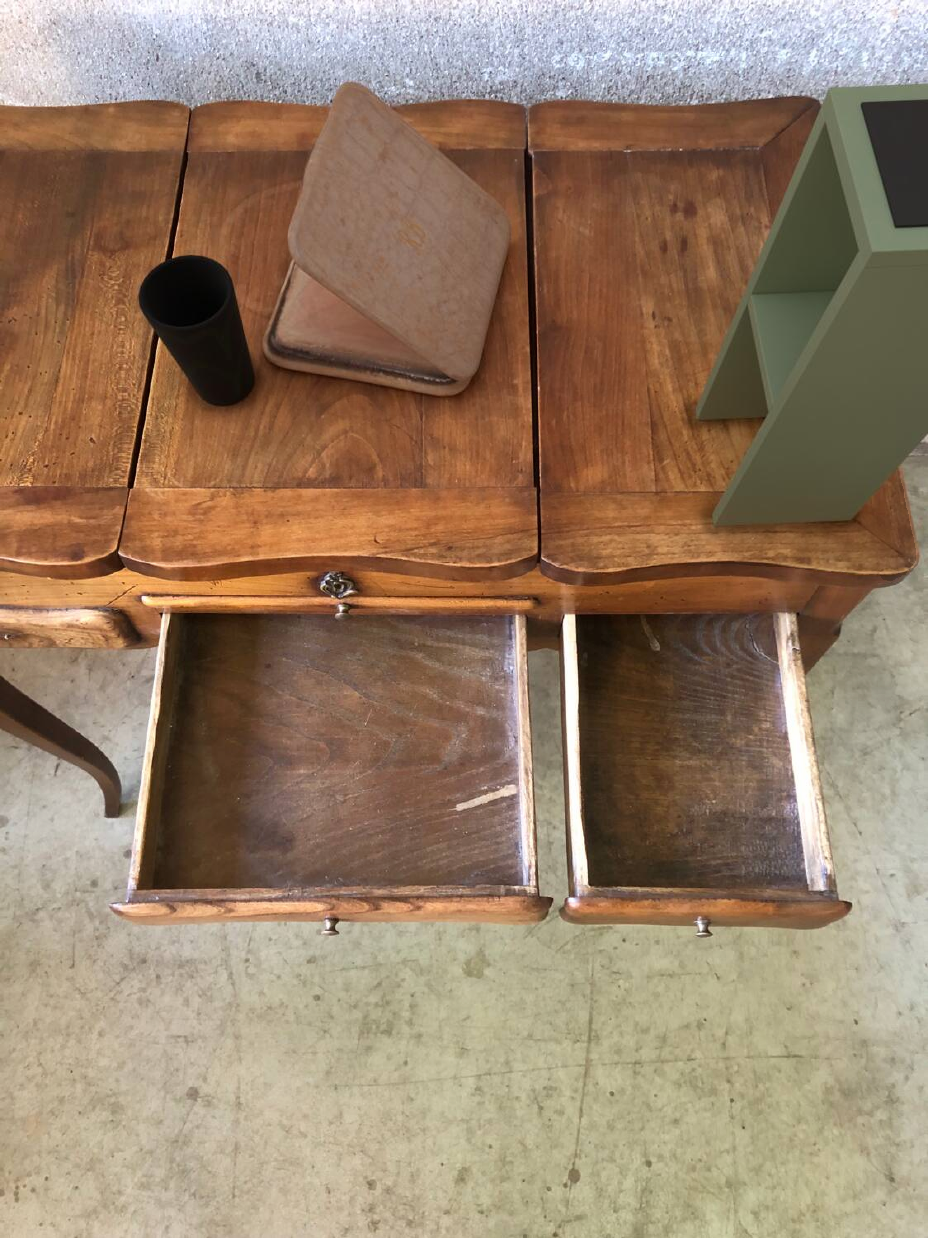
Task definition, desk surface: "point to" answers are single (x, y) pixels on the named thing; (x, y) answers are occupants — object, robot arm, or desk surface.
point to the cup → (200, 326)
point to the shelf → (834, 319)
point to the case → (387, 257)
